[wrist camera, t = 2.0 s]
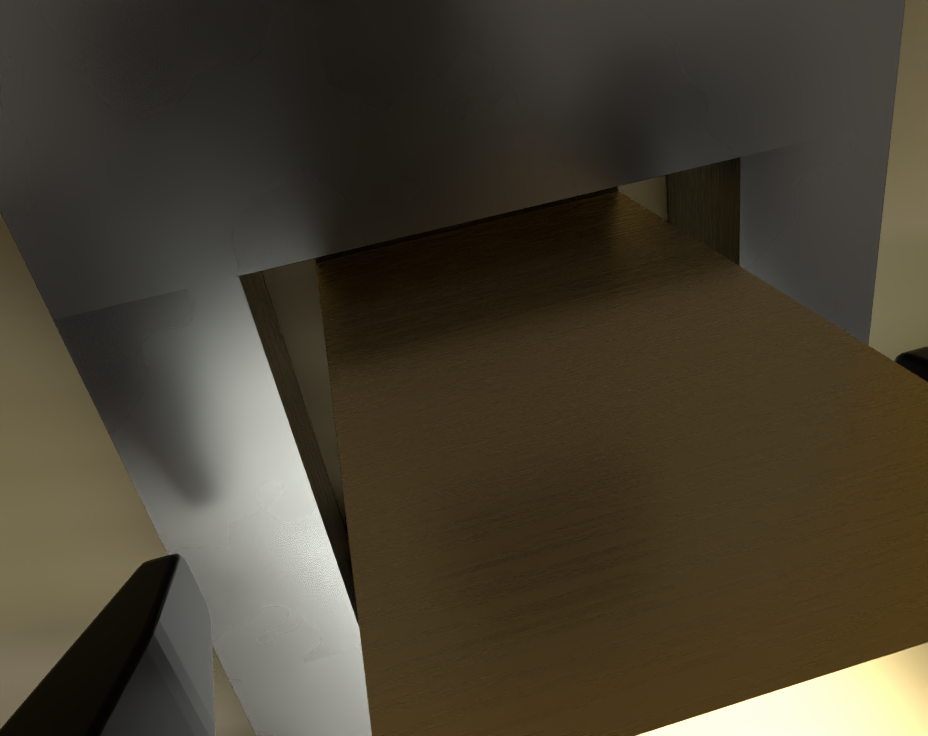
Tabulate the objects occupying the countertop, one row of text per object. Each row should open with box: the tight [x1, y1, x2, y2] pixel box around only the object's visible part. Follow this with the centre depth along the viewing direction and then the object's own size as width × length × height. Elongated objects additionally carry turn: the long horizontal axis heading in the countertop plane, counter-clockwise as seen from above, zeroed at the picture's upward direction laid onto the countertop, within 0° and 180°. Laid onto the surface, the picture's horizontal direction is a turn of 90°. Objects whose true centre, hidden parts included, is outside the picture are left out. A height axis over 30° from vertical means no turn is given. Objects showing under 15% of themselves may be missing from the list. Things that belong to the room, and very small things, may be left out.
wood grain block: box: [316, 191, 928, 736], centre depth 8 cm, size 4×4×8 cm
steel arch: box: [0, 0, 905, 736], centre depth 11 cm, size 10×20×2 cm, turn 10°
